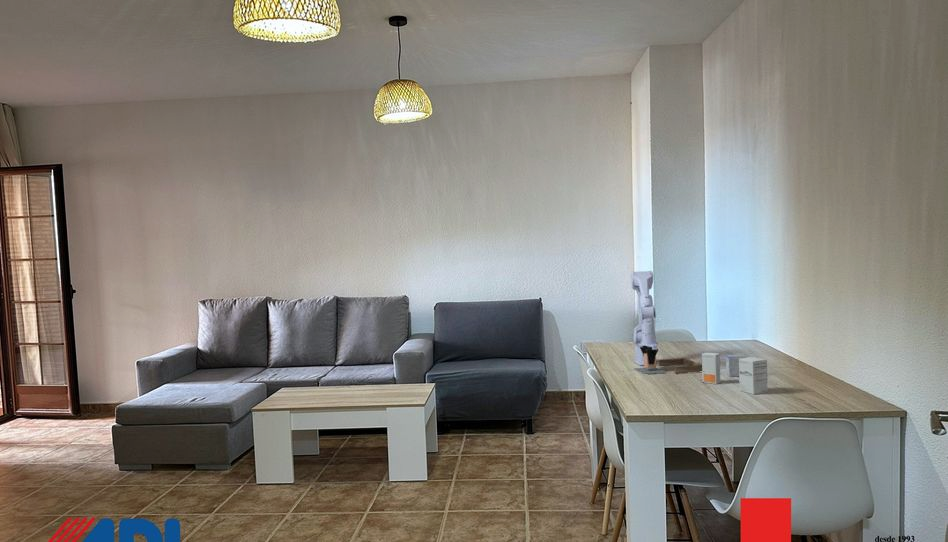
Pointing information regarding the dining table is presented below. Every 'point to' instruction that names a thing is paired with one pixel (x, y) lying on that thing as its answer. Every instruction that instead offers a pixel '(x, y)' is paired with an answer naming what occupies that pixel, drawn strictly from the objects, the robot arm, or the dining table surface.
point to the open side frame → (689, 367)
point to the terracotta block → (646, 363)
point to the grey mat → (649, 370)
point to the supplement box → (753, 375)
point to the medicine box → (733, 364)
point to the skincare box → (711, 368)
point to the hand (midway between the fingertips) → (649, 363)
